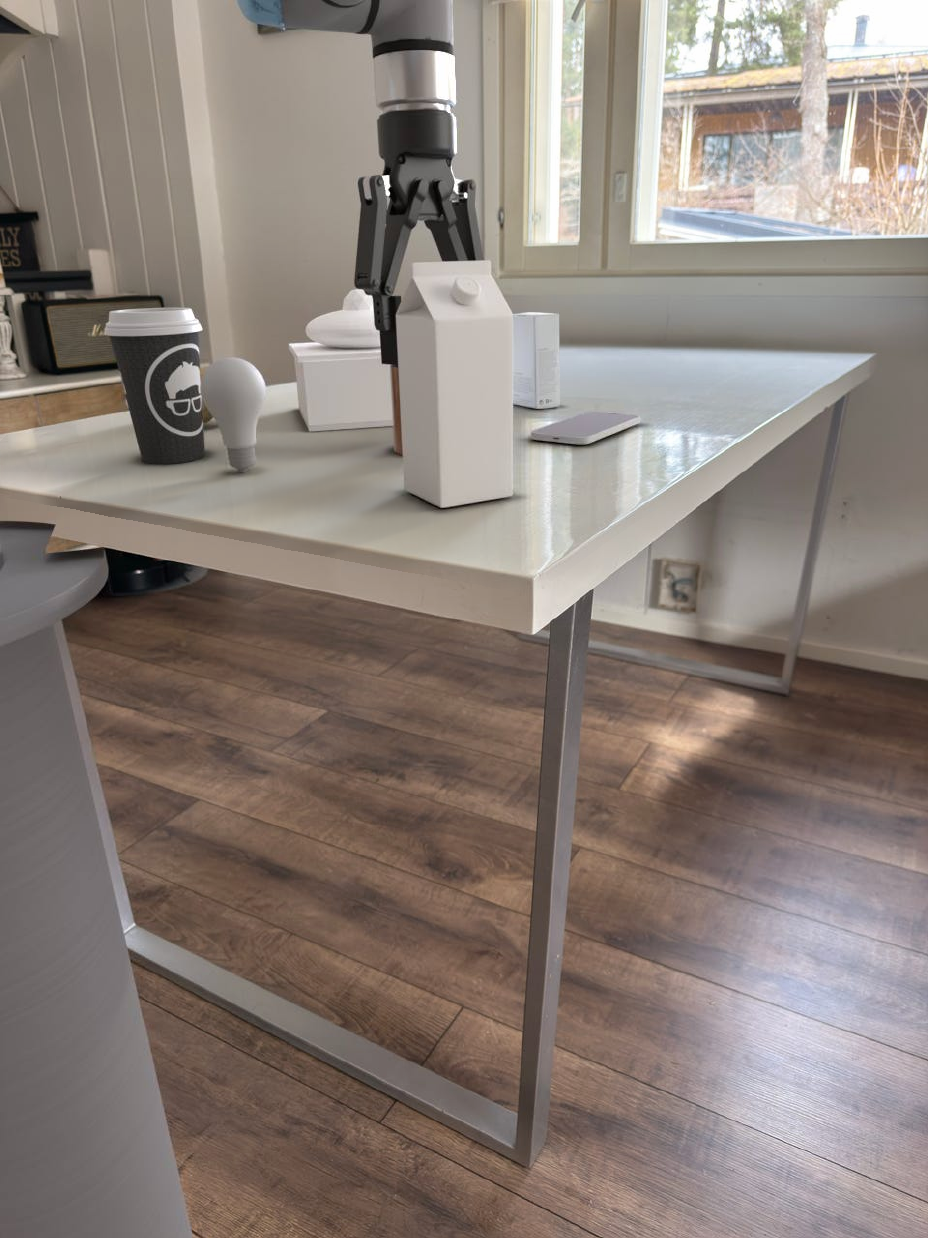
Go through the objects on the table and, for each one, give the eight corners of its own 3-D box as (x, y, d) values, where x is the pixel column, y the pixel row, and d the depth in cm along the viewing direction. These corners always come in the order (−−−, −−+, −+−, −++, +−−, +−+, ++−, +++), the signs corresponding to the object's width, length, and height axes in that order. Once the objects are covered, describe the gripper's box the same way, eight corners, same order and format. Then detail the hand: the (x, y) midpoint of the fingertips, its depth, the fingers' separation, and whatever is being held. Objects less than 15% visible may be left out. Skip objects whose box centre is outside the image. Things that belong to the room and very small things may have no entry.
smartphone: (526, 432, 97) (588, 410, 108) (526, 440, 97) (588, 417, 108) (585, 438, 93) (643, 415, 104) (585, 446, 93) (643, 422, 104)
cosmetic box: (561, 406, 117) (563, 312, 113) (534, 410, 115) (535, 314, 111) (534, 401, 122) (535, 310, 118) (508, 404, 120) (508, 312, 115)
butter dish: (448, 421, 109) (444, 287, 103) (304, 431, 105) (291, 292, 99) (421, 401, 124) (416, 283, 118) (295, 409, 121) (283, 287, 114)
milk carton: (404, 492, 77) (392, 262, 70) (473, 481, 80) (469, 260, 73) (440, 510, 71) (432, 262, 64) (513, 497, 74) (513, 259, 67)
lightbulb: (260, 479, 83) (246, 360, 78) (201, 478, 84) (184, 361, 79) (283, 465, 88) (272, 353, 84) (228, 464, 89) (213, 353, 85)
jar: (428, 459, 89) (424, 353, 85) (379, 450, 94) (373, 349, 90) (478, 447, 94) (476, 346, 90) (429, 439, 99) (426, 342, 95)
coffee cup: (217, 445, 98) (198, 305, 93) (221, 462, 90) (201, 310, 84) (128, 452, 96) (103, 309, 90) (125, 470, 87) (97, 314, 82)
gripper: (466, 124, 91) (471, 347, 100) (299, 107, 77) (322, 368, 86) (520, 116, 86) (521, 350, 95) (352, 95, 72) (372, 373, 81)
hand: (427, 359), depth 90 cm, fingers open, 9 cm apart
